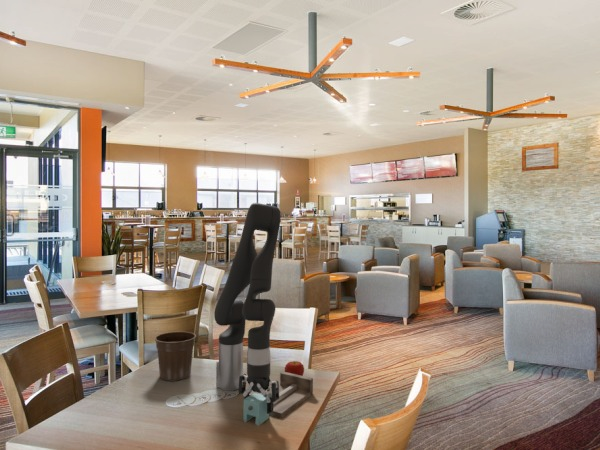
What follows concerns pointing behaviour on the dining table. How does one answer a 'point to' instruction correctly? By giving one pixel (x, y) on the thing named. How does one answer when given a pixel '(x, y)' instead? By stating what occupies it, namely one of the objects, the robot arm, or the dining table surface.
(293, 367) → the apple
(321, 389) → the dining table surface
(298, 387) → the cleat board
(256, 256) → the robot arm
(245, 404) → the cabinet block
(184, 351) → the plant pot
